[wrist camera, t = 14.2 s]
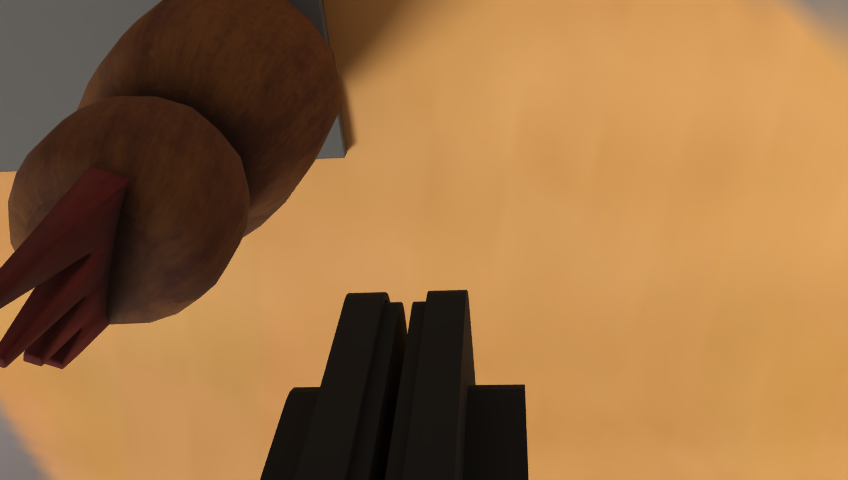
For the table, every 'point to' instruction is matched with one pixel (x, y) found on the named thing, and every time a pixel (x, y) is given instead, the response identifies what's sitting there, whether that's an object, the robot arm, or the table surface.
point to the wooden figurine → (163, 169)
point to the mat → (76, 64)
